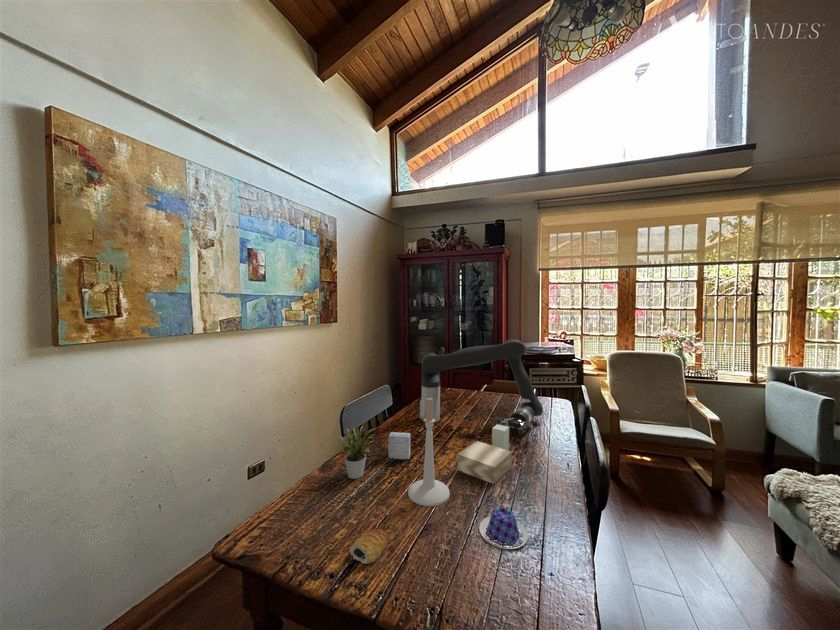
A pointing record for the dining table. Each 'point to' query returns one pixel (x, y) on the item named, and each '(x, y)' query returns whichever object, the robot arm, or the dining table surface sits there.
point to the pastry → (369, 546)
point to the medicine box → (399, 445)
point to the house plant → (356, 453)
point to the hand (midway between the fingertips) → (509, 429)
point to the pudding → (502, 527)
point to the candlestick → (429, 471)
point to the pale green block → (500, 437)
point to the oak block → (485, 461)
